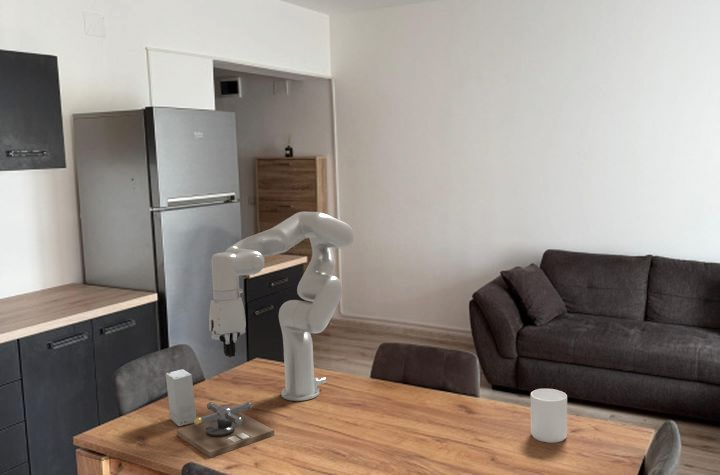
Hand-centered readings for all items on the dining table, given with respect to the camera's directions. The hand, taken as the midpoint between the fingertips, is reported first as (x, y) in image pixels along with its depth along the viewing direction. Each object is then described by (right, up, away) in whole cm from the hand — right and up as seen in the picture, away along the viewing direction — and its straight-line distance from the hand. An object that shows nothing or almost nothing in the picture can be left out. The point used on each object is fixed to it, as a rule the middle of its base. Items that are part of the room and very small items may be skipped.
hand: (229, 355), depth 196 cm
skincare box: (-15, -21, +5) cm, 26 cm away
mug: (+90, -19, -14) cm, 93 cm away
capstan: (0, -20, -7) cm, 21 cm away
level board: (0, -21, -7) cm, 23 cm away
